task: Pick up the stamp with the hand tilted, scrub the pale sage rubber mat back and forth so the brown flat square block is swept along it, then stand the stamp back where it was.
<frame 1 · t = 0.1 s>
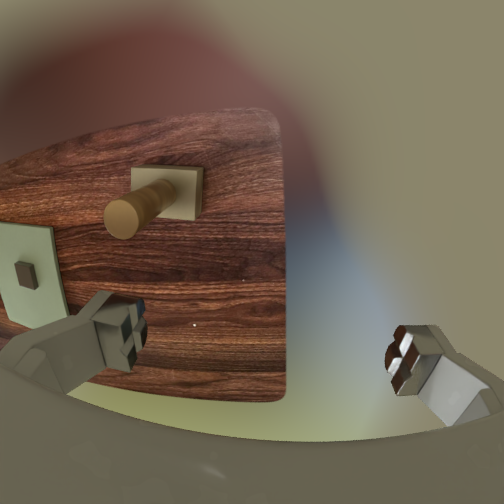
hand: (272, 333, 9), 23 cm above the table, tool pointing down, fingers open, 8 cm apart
brown flat square block: (28, 273, 36), point 1 cm above the table, touching mat
mat: (26, 280, 37), on the table
stamp: (171, 187, 30), on the table
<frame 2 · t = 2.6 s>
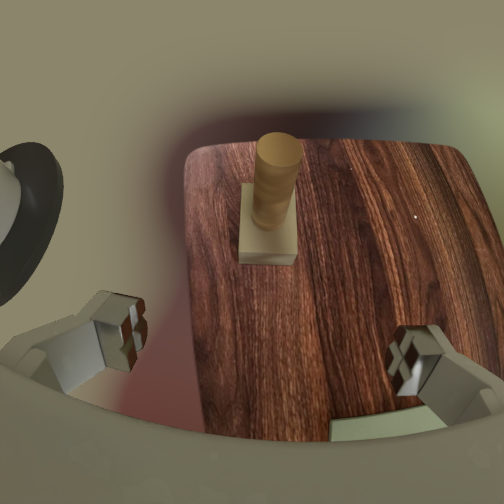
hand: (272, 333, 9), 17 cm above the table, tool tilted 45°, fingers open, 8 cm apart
mat: (413, 481, 19), on the table
stamp: (265, 230, 29), on the table
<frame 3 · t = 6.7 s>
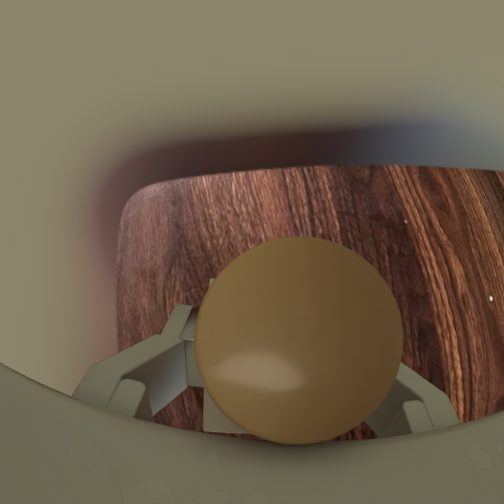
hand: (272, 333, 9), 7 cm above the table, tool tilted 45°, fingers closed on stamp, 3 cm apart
stamp: (259, 358, 15), on the table, touching gripper
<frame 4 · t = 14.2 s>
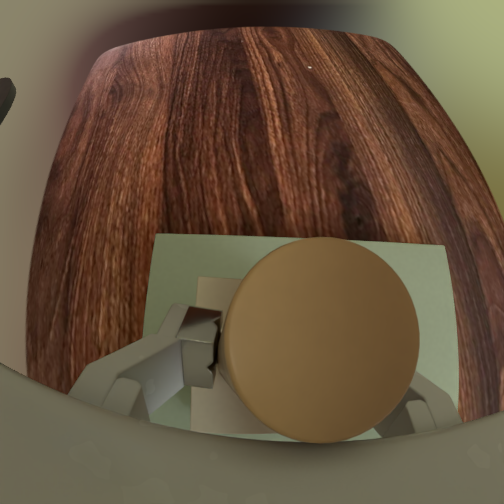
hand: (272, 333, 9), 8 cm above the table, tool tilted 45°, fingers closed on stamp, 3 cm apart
mat: (317, 389, 15), on the table
stamp: (243, 358, 15), point 1 cm above the table, tilted 6°, touching gripper, mat
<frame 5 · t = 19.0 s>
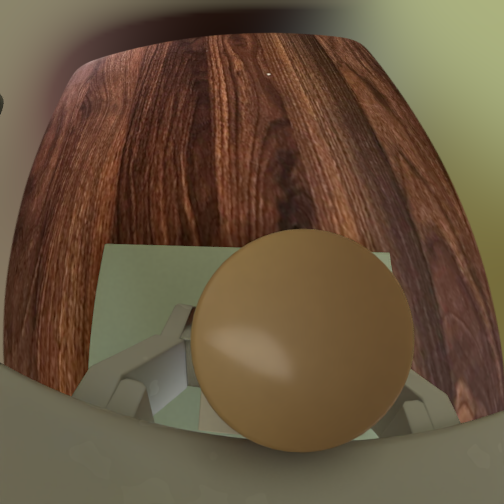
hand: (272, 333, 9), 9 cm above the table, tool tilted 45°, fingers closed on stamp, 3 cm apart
mat: (242, 390, 16), on the table
stamp: (259, 359, 15), point 3 cm above the table, touching gripper
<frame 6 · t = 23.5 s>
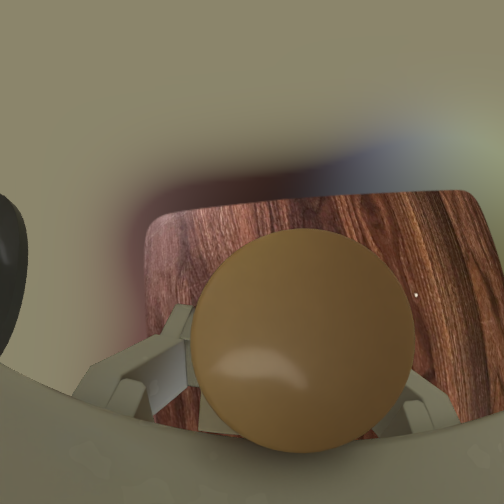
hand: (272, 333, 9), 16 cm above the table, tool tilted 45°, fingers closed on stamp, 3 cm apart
stamp: (259, 359, 15), point 9 cm above the table, touching gripper
when the fingers open (6 cm above the table, at t = 27.0 s): stamp stays where it is, on the table.
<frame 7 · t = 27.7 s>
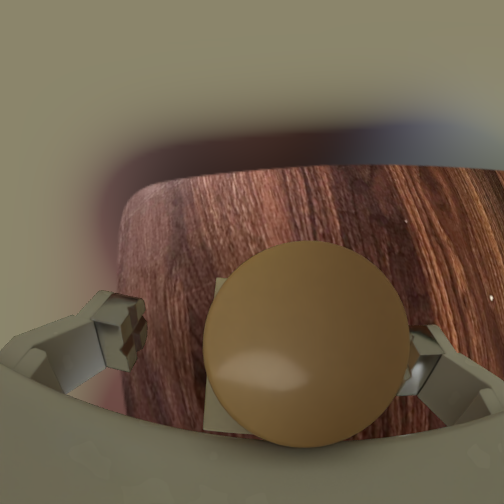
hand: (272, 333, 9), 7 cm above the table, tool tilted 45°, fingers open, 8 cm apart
stamp: (262, 359, 15), on the table
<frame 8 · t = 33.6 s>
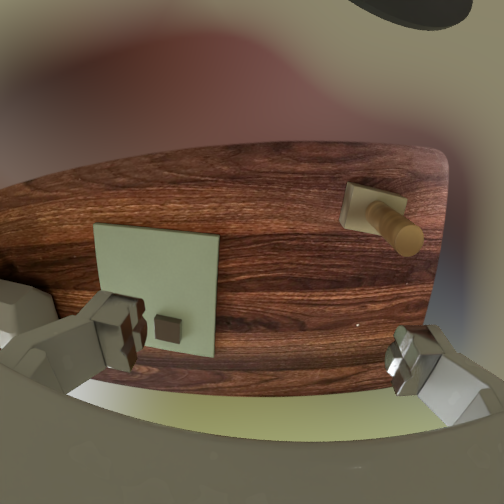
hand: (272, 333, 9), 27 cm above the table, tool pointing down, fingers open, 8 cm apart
brown flat square block: (169, 327, 42), point 1 cm above the table, touching mat
grey stepped block: (15, 290, 43), on the table
mat: (155, 293, 40), on the table
stamp: (369, 206, 34), on the table
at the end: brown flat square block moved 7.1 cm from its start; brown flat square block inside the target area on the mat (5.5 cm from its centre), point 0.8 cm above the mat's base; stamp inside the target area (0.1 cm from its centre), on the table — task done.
